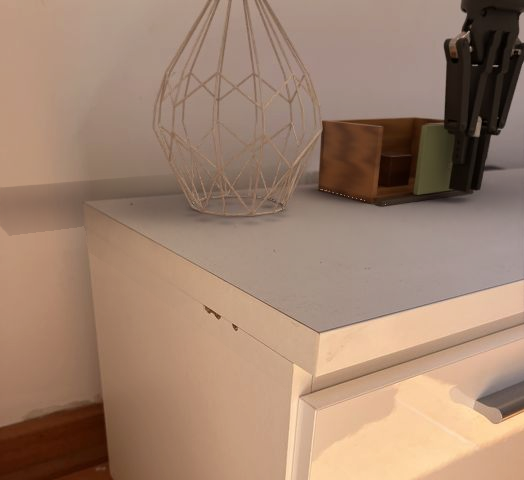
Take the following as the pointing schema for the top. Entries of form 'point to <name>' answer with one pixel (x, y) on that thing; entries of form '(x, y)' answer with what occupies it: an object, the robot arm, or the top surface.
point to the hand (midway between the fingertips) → (464, 189)
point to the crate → (371, 158)
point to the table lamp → (193, 157)
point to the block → (394, 169)
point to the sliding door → (435, 159)
